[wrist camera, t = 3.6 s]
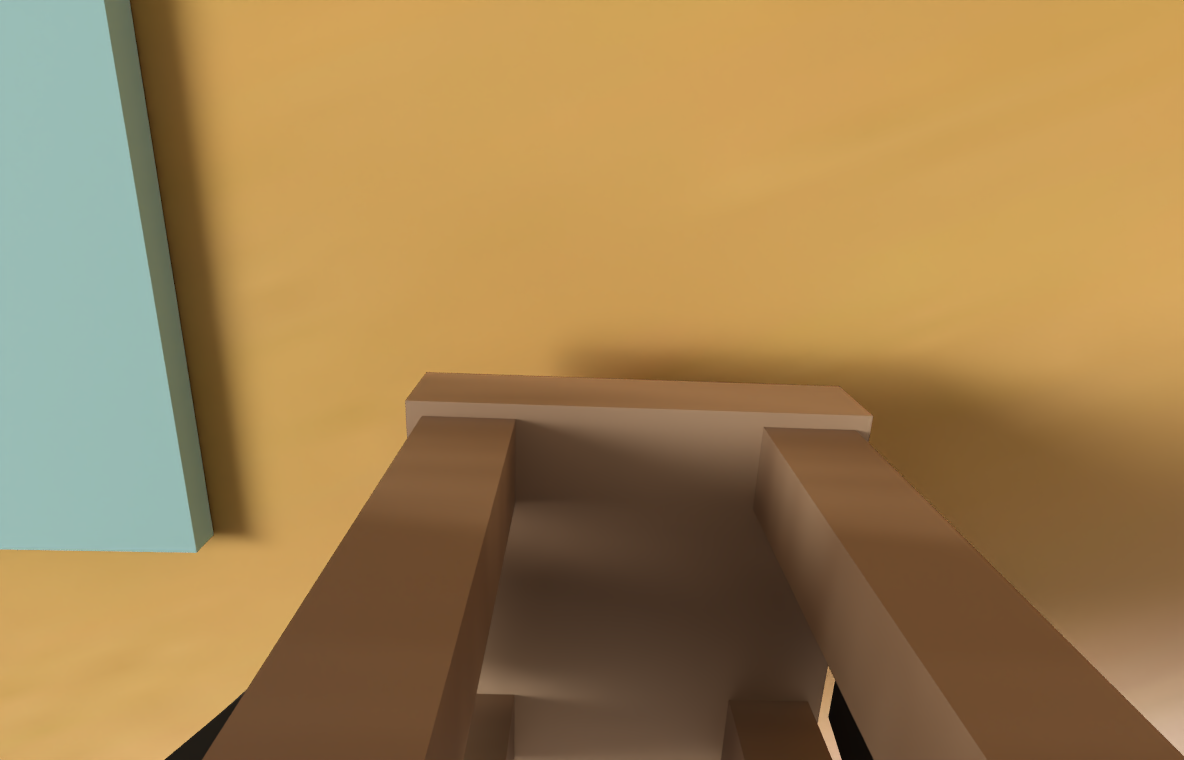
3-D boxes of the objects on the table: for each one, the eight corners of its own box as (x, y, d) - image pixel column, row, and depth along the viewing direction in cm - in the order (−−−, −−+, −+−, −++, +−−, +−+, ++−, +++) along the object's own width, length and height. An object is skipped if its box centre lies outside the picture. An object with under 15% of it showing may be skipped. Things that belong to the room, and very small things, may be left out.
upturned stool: (785, 713, 12) (1022, 1359, 5) (439, 705, 12) (266, 1356, 5) (839, 386, 10) (1294, 788, 4) (426, 372, 10) (132, 765, 3)
